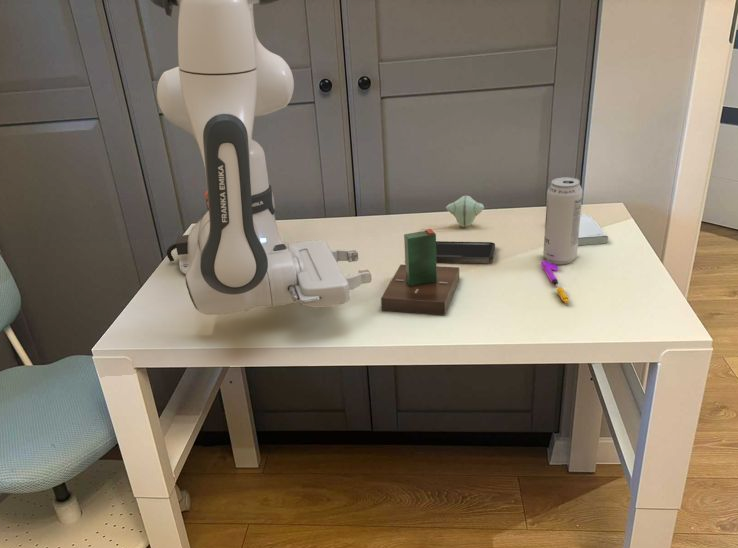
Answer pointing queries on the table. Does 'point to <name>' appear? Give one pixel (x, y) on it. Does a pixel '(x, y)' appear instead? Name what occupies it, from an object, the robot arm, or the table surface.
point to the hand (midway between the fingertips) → (363, 264)
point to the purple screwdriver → (554, 279)
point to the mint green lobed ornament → (465, 210)
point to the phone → (465, 252)
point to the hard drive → (590, 231)
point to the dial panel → (421, 293)
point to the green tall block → (420, 257)
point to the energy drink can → (562, 220)
